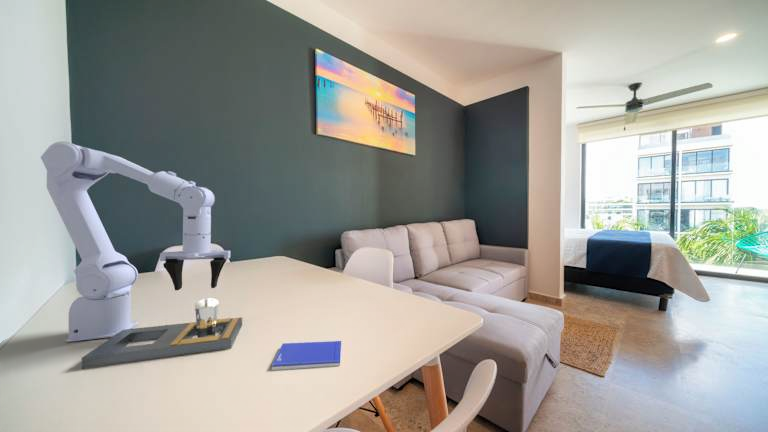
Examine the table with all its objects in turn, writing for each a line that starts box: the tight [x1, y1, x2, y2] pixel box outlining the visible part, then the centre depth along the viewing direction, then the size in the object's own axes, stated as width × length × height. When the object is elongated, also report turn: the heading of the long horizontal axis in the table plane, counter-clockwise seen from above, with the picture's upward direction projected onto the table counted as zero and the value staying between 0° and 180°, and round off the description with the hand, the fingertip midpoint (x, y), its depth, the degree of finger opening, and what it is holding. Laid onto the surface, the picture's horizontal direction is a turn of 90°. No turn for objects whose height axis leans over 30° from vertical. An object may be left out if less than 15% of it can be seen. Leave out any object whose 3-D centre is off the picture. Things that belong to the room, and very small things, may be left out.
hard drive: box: [271, 340, 342, 371], centre depth 53 cm, size 2×8×12 cm
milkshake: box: [194, 297, 220, 338], centre depth 58 cm, size 4×5×10 cm
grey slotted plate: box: [81, 317, 243, 370], centre depth 57 cm, size 24×12×2 cm, turn 109°
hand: (196, 288), depth 66 cm, fingers open, 7 cm apart
